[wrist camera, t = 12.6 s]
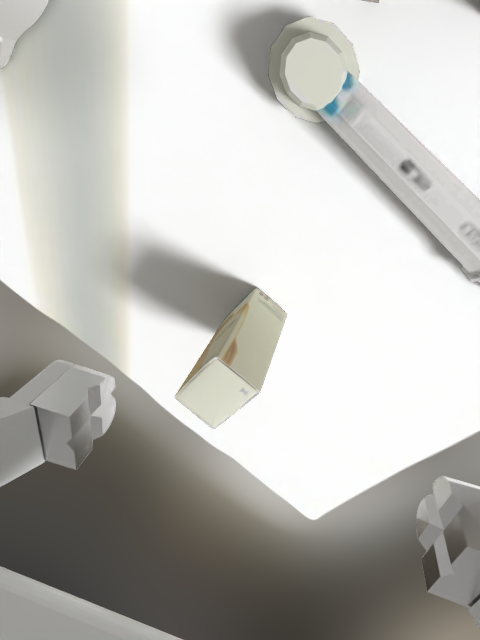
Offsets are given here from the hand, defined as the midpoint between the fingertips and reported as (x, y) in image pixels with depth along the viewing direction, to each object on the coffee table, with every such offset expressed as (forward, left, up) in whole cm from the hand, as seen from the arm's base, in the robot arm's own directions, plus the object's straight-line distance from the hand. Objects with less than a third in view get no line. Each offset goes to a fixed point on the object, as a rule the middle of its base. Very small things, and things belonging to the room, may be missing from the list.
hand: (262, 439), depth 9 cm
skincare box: (-4, -12, -26) cm, 29 cm away
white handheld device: (+5, +5, -26) cm, 27 cm away
